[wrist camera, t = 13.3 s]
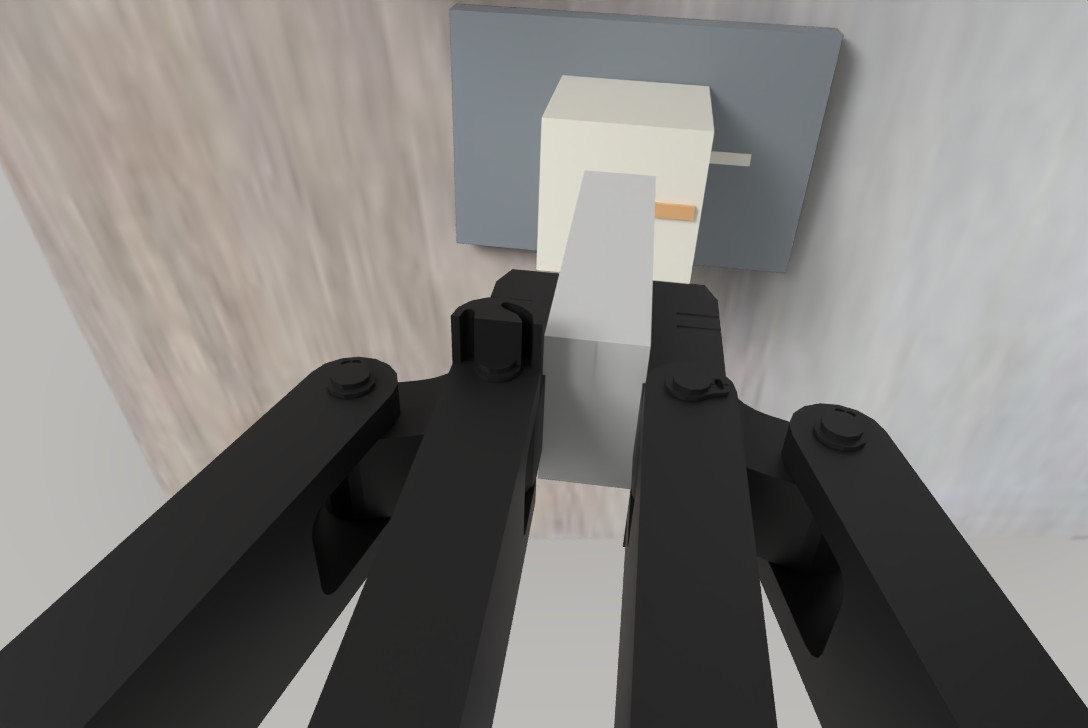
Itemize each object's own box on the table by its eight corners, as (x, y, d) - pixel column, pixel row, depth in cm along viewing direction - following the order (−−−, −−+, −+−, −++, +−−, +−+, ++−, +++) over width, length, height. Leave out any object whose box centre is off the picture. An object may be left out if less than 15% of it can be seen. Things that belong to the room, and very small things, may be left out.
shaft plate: (456, 3, 38) (428, 27, 33) (837, 28, 36) (861, 56, 32) (462, 231, 44) (439, 276, 40) (782, 260, 43) (796, 310, 38)
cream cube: (562, 75, 37) (541, 118, 32) (709, 86, 37) (714, 133, 31) (555, 211, 41) (535, 271, 36) (688, 223, 41) (689, 287, 35)
